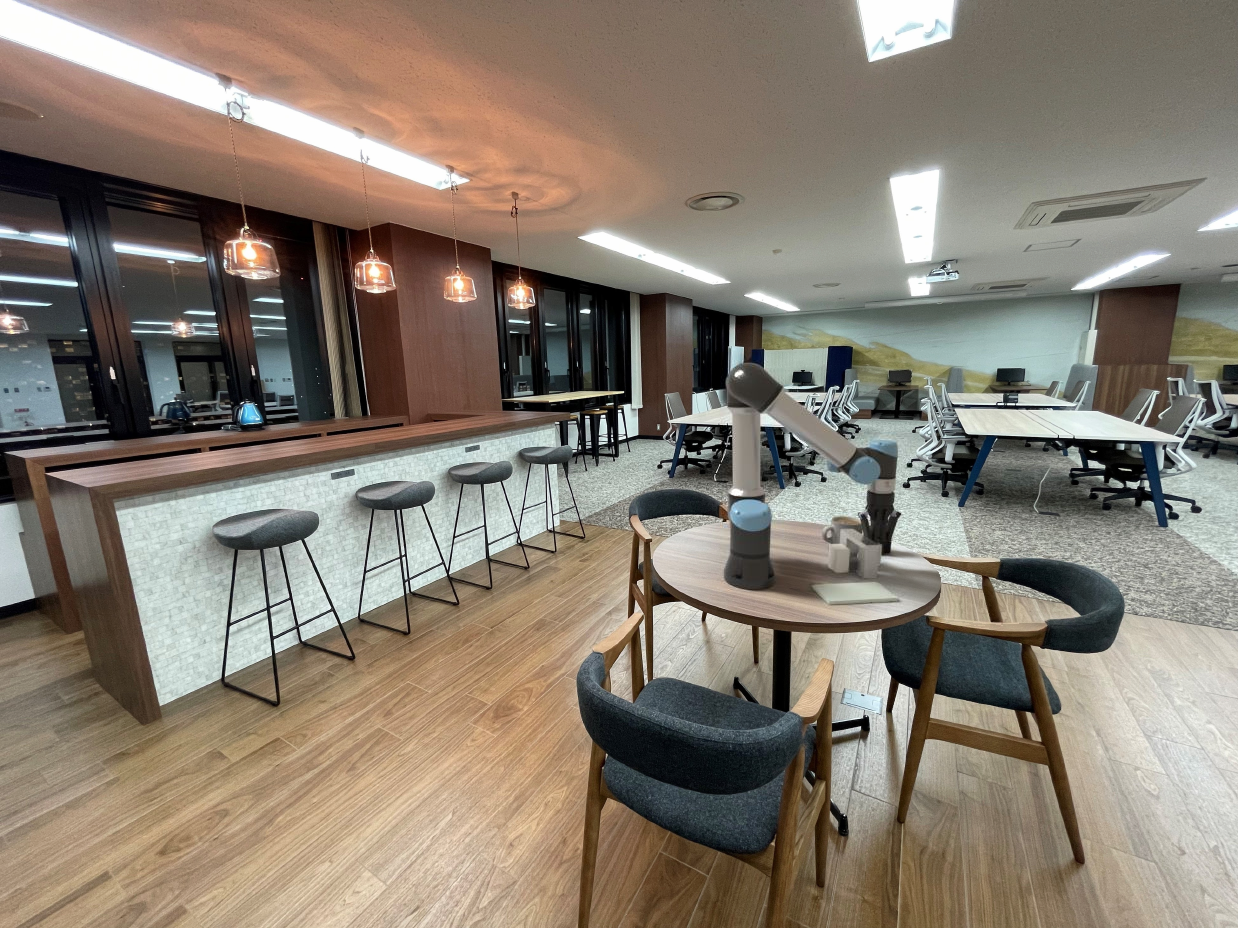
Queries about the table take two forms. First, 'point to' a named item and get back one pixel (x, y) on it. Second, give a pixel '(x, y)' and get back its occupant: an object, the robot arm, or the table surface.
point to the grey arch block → (861, 552)
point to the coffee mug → (839, 524)
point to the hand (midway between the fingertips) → (876, 562)
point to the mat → (854, 593)
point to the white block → (841, 559)
